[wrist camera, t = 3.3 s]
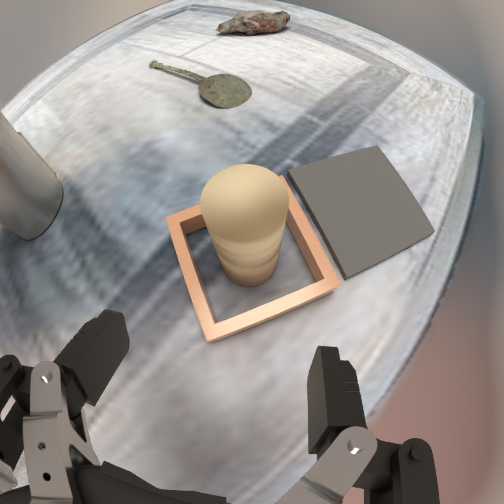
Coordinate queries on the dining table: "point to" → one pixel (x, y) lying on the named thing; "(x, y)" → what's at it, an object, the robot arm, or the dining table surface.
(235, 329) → the terracotta collar
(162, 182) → the dining table surface
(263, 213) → the maple post
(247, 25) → the mineral rock
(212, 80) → the soupspoon
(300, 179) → the charcoal mat
